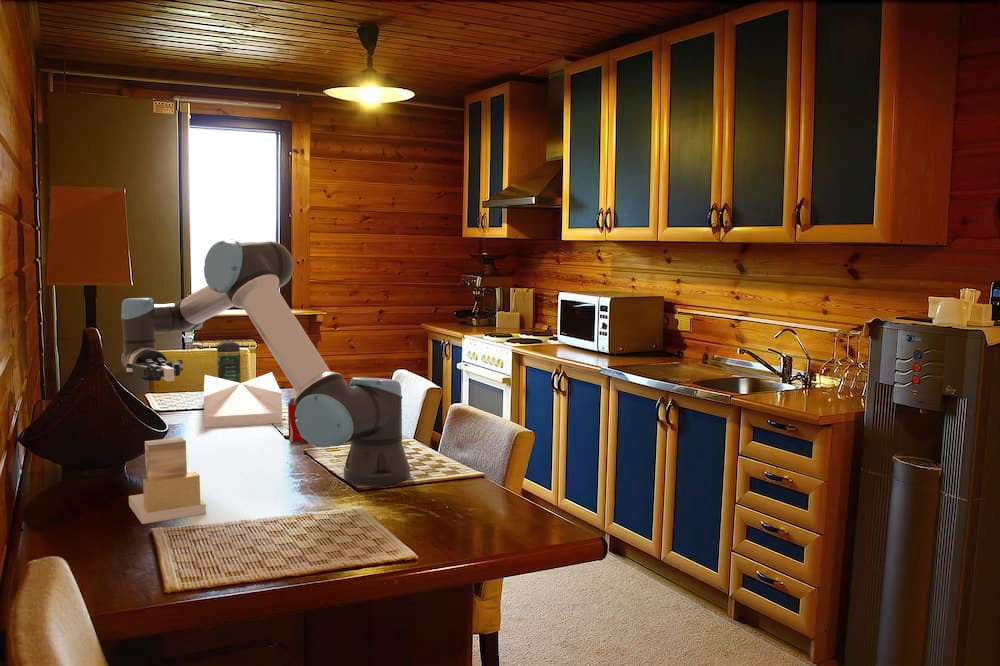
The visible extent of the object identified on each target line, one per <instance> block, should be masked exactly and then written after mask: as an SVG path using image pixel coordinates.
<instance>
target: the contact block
mask: <svg viewBox="0 0 1000 666" xmlns="http://www.w3.org/2000/svg"><path fill="white" fill-rule="evenodd" d="M200 479H201V478H200V474H199V473H198V472H196V471H192V472H187V473H184V474H176V475H169V476H162V477H154V478H147V479H146V478H143V479H142V488H143V494H144V509H145V511H146V512H147V513H151V512H157V511H163V510H170V509H176V508H183V507H189V506H196V505H201V503H200V499H201V482H200V481H201V480H200Z"/></svg>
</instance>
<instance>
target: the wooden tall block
mask: <svg viewBox="0 0 1000 666" xmlns="http://www.w3.org/2000/svg"><path fill="white" fill-rule="evenodd" d="M186 443H187V441H186V440H185V439H184V438H183V437H181V436H180V437H171V438H161V439H154V440H153V439H152V440H145V441H144V453H145V454H144V455H145V456H144V458H145V476H146V477H145V479H147V478H154V477H162V476H169V475H176V474H184V473H188V470H187V469H188V467H187V465H188V464H187V444H186Z"/></svg>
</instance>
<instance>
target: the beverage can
mask: <svg viewBox="0 0 1000 666" xmlns="http://www.w3.org/2000/svg"><path fill="white" fill-rule="evenodd" d="M294 400H295V397H291V398H290V399H289V401H288V403H287V415H288V416H287V417H288V418H287V419H288V420H287V421H288V442H289V443H290V444H291V445H308V444H310V443H309V442H308V441H306V440H305V439H304V438H303V437H302V435H301V434H300V432H299V430H298V428H297V426H296V422H295V421H296V420H297V417H295V410H296V407H297V406H296V404H295V402H294Z"/></svg>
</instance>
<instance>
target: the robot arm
mask: <svg viewBox="0 0 1000 666" xmlns="http://www.w3.org/2000/svg"><path fill="white" fill-rule="evenodd" d="M294 268H295V267H294V259H293V257H292V254H291V252H290V251H289V250H288V249H287V248H286V247H285V246H284V245H282V243H279V242H277V241H275V240H270V239H268V240H267V239H264V240H263V239H262V240H261V239H260V240H259V239H254V240H253V239H252V240H251V239H247V240H246V239H234V238H232V239H231V238H230V239H229V240H220V241H218V242H215V243H214V244H213V245H212V246H211V247H210V248H209V250H208V251H207V253H206V256H205V258H204V265H203V274H204V279H205V282H206V284H207V285H206V286H205V287H203V288H201V289H199V290H197V291H194V293H192V294H189V295H188V296H187V297H184V298H182V299H181V300H179V301H177V302H174V303H159V304H157V303H154V302H155V301H154V299H153V298H152V297H135V298H134V297H133V298H132V297H131V298H130V297H129V298H125V299H123V300H122V302H121V314H120V315H121V316H120V318H121V323H122V324H121V325H122V333H123V334H122V335H123V343H122V344H123V346H122V347H123V352H122V354H121V363H122V365H123V367H124V368H125V371H126V376H135V377H138V378H140V379H142V381H143V380H144V381H145V382H154V381H156V382H161V380H164V381H165V382H175V377H179V376H181V372H182V371H184V361H183V359H179V360H174V361H173V362H172V361H171V360H168V359H167V357H166V356H165V355H164V353H162V352H160V351H158V350H157V344H156V342H157V341H156V339H157V337H156V335H159V334H169V333H170V334H171V333H178V332H181V333H182V332H190V331H195V330H198V329H200V328H202V327H203V325H204V323H205V321H207V320H209V319H211V318H213V317H215V316H217V315H218V314H220V313H223V312H225V311H227V310H229V309H230V308H233V307H235V308H238V309H243V310H244V311H245V313H246V314H247V316H248V317H249V319H250V321H251V323H252V324H253V325H254V328H255V329H256V330H257V332H258V334H259V336H260V337H261V339H262V340H263V341H264V343H265V344H266V346H267V348H268V349H269V351H270V353H271V355H272V356H273V357H274V359H275V361H276V362H277V363H278V365H279V367H280V369H281V371H282V372H283V374H284V375H285V377H286V378H287V380H288V381H289V383H290V384H291V386H292V387H293V389H294V391H295V392H296V395H295V397H294V398H295V400H294V402H295V404H296V406H297V407H296V410H295V417H297V420H296V421H295V422H296V426H297V428H298V430H299V432H300V434H301V435H302V437H303V438H304V439H305V440H306V441H308V442H309V443H308V444H309V445H312V446H315V447H318V448H321V449H322V448H323V449H324V448H331V447H339V446H342V445H344V444H347V443H349V442H350V447H349V451H348V454H347V458H346V461H345V464H344V467H343V479H344V481H346V482H347V481H348V482H347V483H350V482H353V483H352V484H354V483H357V484H356V485H359V484H363V486H385V485H386V486H387V485H392V484H397V483H401V482H404V481H406V480H408V479H409V478H410V477H411V467H410V464H409V461H408V456H407V454H406V451H405V447H404V445H403V418H402V417H403V409H402V407H403V405H402V404H403V403H402V400H403V395H402V385H401V383H400V382H399V381H398V380H397V379H392V378H391V379H390V378H383V377H382V378H379V377H361V376H360V377H359V376H358V377H357V376H356V377H352V378H350V382H349V384H348V383H347V381H346V380H345V378H344V377H343V375H342V374H341V372H340V373H339V372H336V371H335V372H334V371H331V370H330V367H329V366H328V365H327V363H326V362H325V360H324V359H323V358H322V356H321V354H320V353H319V351H318V350H317V348H316V347H315V345H314V344H313V342H312V341H311V338H309V336H308V334H307V333H306V331H305V330H304V328H303V325H302V324H300V322H299V321H298V319H297V317H296V316H295V314H294V313H293V311H292V310H291V308H290V307H289V305H288V303H287V301H286V300H285V298H284V296H282V293H281V292H280V290H278V289H280V288H282V287H283V286H286V285H287V283H288V282H290V280H291V278H292V275H293V274H294Z"/></svg>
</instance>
